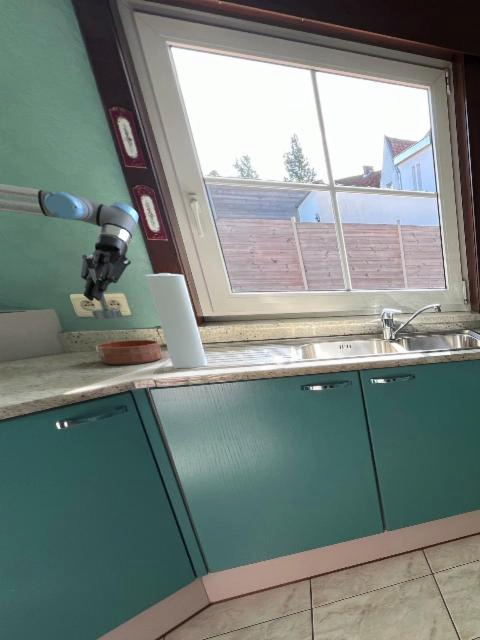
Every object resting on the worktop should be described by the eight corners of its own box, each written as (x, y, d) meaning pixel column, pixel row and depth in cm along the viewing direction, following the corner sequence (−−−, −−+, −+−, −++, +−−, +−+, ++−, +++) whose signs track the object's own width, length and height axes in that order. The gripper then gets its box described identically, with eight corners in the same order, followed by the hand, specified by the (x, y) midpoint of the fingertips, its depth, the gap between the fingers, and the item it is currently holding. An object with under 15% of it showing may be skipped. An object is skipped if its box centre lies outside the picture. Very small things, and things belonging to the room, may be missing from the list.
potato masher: (91, 319, 159) (70, 258, 152) (96, 316, 165) (76, 258, 158) (120, 318, 163) (100, 258, 156) (124, 315, 168) (105, 258, 161)
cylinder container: (208, 361, 175) (184, 272, 164) (206, 366, 168) (181, 274, 157) (174, 363, 170) (147, 272, 159) (171, 369, 163) (142, 273, 152)
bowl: (97, 367, 163) (90, 349, 160) (107, 358, 175) (101, 341, 173) (160, 362, 171) (155, 345, 169) (165, 354, 183) (161, 338, 181)
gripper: (145, 251, 171) (126, 305, 162) (97, 250, 169) (76, 305, 160) (128, 234, 164) (108, 290, 155) (79, 233, 162) (55, 289, 153)
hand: (91, 297), depth 158 cm, fingers closed on potato masher
